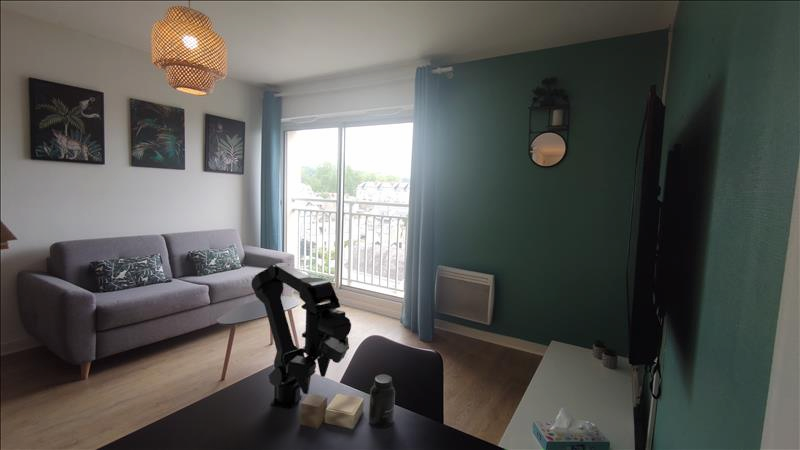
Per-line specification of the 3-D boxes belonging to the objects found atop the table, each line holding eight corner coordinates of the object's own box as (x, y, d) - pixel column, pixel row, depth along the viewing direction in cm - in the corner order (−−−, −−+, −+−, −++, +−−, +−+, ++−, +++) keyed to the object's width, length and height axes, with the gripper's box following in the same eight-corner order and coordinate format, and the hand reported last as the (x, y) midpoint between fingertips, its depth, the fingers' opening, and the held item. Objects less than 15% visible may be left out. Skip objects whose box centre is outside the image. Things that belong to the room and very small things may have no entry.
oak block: (324, 423, 96) (325, 408, 96) (337, 406, 104) (337, 393, 104) (352, 429, 94) (353, 414, 94) (363, 412, 102) (363, 398, 102)
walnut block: (300, 424, 95) (301, 403, 95) (310, 413, 100) (310, 393, 99) (317, 428, 94) (318, 407, 93) (326, 417, 99) (327, 396, 98)
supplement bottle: (390, 430, 94) (392, 386, 93) (365, 425, 96) (367, 382, 95) (396, 414, 101) (398, 374, 100) (372, 410, 103) (374, 370, 101)
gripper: (328, 347, 83) (325, 411, 85) (358, 321, 101) (356, 373, 103) (286, 339, 86) (284, 401, 88) (323, 315, 104) (321, 366, 106)
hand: (314, 384), depth 96 cm, fingers open, 9 cm apart
